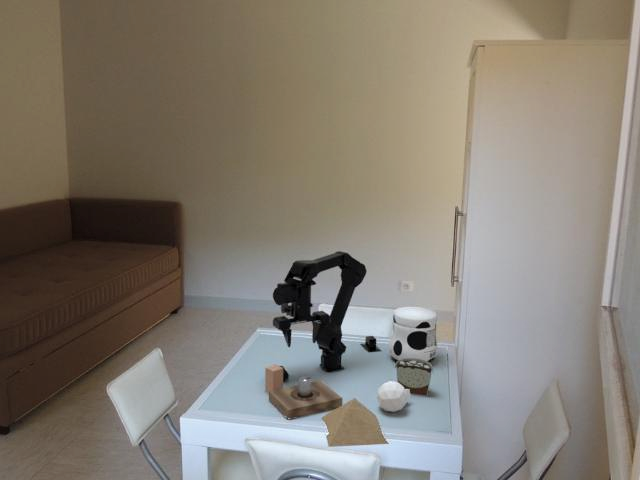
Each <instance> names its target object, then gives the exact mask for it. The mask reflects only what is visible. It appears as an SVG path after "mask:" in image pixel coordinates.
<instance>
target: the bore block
mask: <svg viewBox="0 0 640 480" xmlns="http://www.w3.org/2000/svg"><path fill="white" fill-rule="evenodd" d="M268 401H269V402H270V403H271V404H272V405H273V406H274V407H275V408H276V409H277V410H278V411H279V413H281V414H282V416H284V417H285V416H286V417H287V418H294V417H298V418H301V416H302V417H306V416H310V415H314V414H319V413H323V412H328V411H333V410H335V409H337V408H338V407H340V406H342V405H343V397H342V396H341V395H339V394H338V393H337V392H336V391H334V390H333V389H332V388H331V387H329V385H326V383H324V382H323V381H322V380H317V381H311V397H310V398H301V397H299V384H296V385H291V386H287V387H283V388H281V389H276V390H271V391H269V393H268ZM286 417H285V418H286ZM287 418H286V419H287ZM294 419H295V418H294Z"/></svg>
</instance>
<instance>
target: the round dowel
mask: <svg viewBox="0 0 640 480" xmlns="http://www.w3.org/2000/svg"><path fill="white" fill-rule="evenodd" d="M311 382H312V377H310V376H301V377H299V379H298V385H299V397H301V398H310V397H311Z"/></svg>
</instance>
